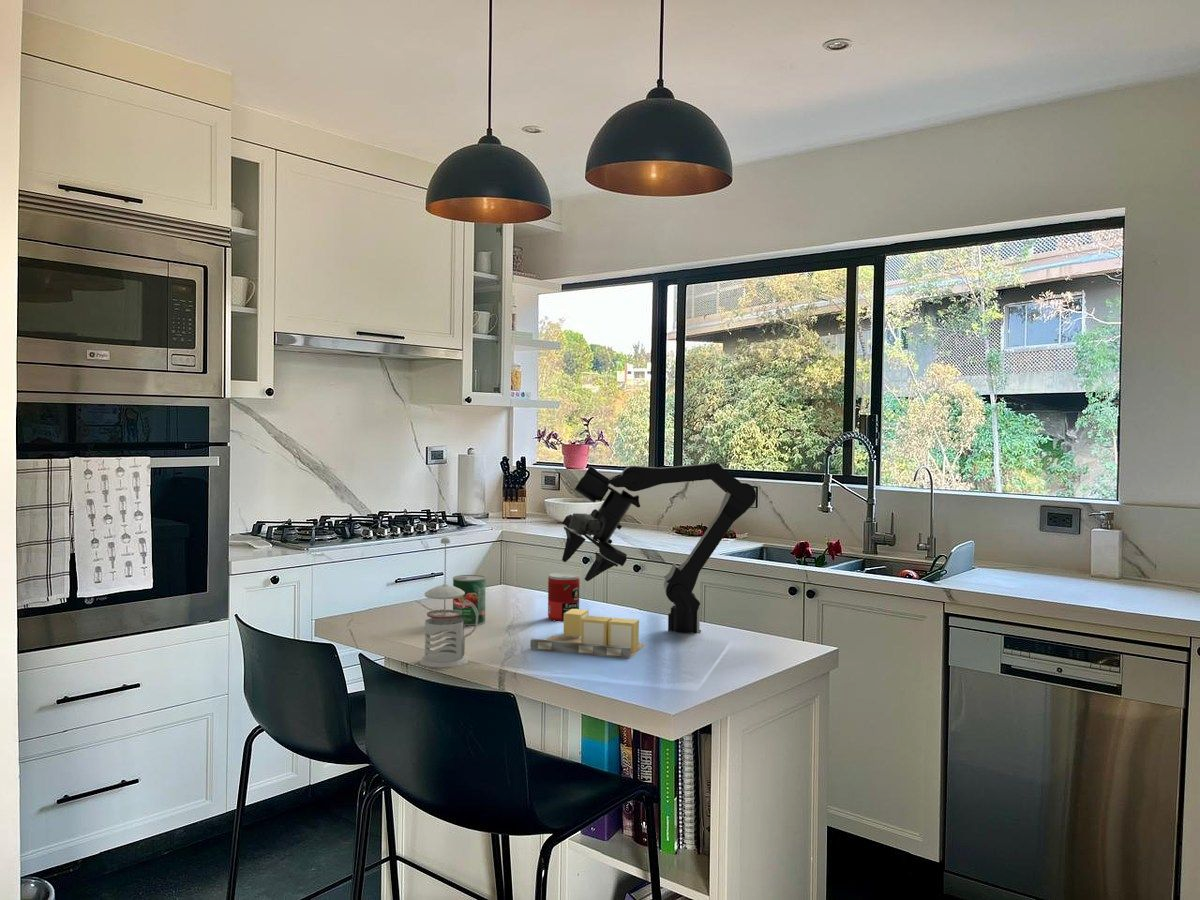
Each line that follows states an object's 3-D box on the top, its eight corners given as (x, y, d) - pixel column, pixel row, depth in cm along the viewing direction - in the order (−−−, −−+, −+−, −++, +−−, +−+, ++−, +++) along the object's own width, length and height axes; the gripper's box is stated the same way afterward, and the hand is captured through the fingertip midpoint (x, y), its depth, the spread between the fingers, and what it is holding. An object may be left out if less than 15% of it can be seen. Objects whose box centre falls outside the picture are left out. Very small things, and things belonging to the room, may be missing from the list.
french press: (424, 654, 183) (425, 534, 183) (480, 655, 183) (482, 534, 183) (414, 667, 174) (415, 540, 173) (473, 668, 173) (475, 540, 173)
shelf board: (645, 648, 191) (645, 634, 191) (629, 663, 178) (629, 648, 178) (552, 640, 197) (552, 626, 197) (529, 654, 185) (530, 639, 185)
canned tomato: (485, 618, 219) (486, 574, 219) (485, 625, 211) (485, 579, 211) (453, 619, 218) (453, 574, 218) (451, 626, 210) (452, 580, 210)
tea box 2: (638, 647, 187) (639, 619, 187) (633, 652, 183) (633, 623, 183) (613, 645, 189) (614, 617, 189) (608, 650, 185) (608, 621, 185)
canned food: (566, 623, 214) (566, 578, 214) (541, 619, 219) (541, 574, 219) (585, 618, 221) (586, 574, 220) (560, 614, 225) (561, 571, 225)
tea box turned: (571, 634, 203) (571, 608, 203) (588, 636, 202) (588, 610, 202) (563, 640, 198) (563, 613, 198) (580, 641, 197) (581, 614, 196)
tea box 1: (611, 645, 189) (611, 617, 189) (605, 649, 185) (606, 621, 185) (587, 643, 191) (587, 615, 191) (580, 647, 187) (581, 619, 187)
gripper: (566, 484, 205) (530, 541, 205) (614, 520, 191) (575, 580, 192) (595, 501, 213) (560, 556, 213) (643, 536, 199) (606, 594, 199)
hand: (574, 570), depth 204 cm, fingers open, 9 cm apart
